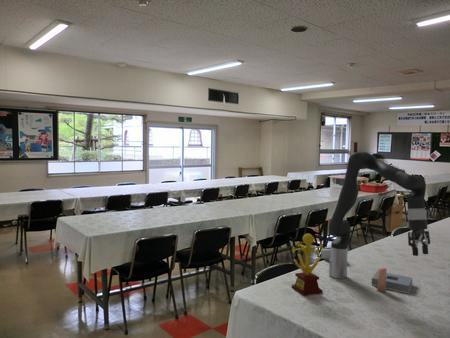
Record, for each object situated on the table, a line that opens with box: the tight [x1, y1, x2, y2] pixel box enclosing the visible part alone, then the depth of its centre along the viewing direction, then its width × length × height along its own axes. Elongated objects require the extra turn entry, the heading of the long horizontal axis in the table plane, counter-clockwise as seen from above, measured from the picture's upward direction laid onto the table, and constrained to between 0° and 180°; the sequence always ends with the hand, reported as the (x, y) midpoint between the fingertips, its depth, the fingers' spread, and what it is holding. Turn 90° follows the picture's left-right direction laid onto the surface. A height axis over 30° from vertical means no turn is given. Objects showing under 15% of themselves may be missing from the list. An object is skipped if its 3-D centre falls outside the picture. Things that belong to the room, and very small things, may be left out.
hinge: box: [320, 246, 331, 261], centre depth 235 cm, size 17×5×10 cm, turn 48°
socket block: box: [371, 270, 413, 294], centre depth 193 cm, size 18×14×4 cm
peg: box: [376, 266, 388, 293], centre depth 184 cm, size 4×4×12 cm
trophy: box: [291, 233, 324, 297], centre depth 183 cm, size 14×16×30 cm
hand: (420, 254), depth 159 cm, fingers open, 8 cm apart
